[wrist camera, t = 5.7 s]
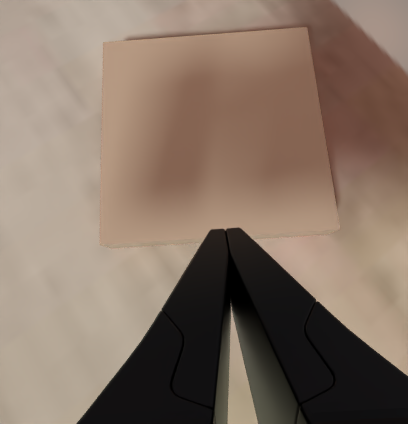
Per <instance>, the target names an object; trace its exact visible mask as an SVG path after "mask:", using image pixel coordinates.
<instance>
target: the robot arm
mask: <svg viewBox="0 0 408 424" xmlns="http://www.w3.org/2000/svg"><path fill="white" fill-rule="evenodd" d="M231 307H232V312H233V317H234V321H235V325H236V330H237V334H238V338H239V343H240V347H241V351H242V355H243V360H244V364H245V368H246V373H247V377H248V381H249V386H250V390H251V394H252V398H253V403H254V407H255V411H256V416H257V420H258V424H408V376H407V375H406V374H404V373H403V372H402V371H400V370H399V369H398V368H397V367H395V366H394V365H393V364H391V363H390V362H389V361H388V360H386V359H385V358H384V357H383V356H381V355H380V354H379V353H377V352H376V351H375V350H374V349H372V348H371V347H370V346H369V345H367V344H366V343H365V342H364V341H362V340H361V339H360V338H359V337H358V336H356V335H355V334H354V333H353V332H351V331H350V330H349V329H348V328H347V327H346V326H344V325H343V324H342V323H341V322H340V321H339V320H338V319H337V318H336V317H334V316H333V315H332V314H331V313H330V312H329V311H328V310H327V309H326V308H325V307H324V306H323V305H322V304H320V303H319V302H318V301H317V302H316V299H315V298H314V297H313V296H312V295H311V294H310V293H309V292H308V291H307V290H306V289H304V288H303V287H302V286H301V285H300V284H299V283H298V282H297V281H296V280H295V279H294V278H293V277H292V276H291V275H290V274H289V273H288V272H287V271H286V270H285V269H283V268H282V267H281V266H280V265H279V264H278V263H277V262H276V261H275V260H274V259H273V258H272V257H271V256H270V255H269V254H268V253H267V252H266V251H265V250H263V249H262V248H261V247H260V246H259V245H258V244H257V243H256V242H255V241H254V240H253V239H252V238H251V237H250V236H249V235H248V234H247V233H246V232H245V231H243V230H242V229H241V228H239V227H237V228H227V229H226V231H225V229H211V230H210V231H209V232H208V234H207V236H206V237H205V239H204V240H203V242H202V244H201V245H200V247H199V249H198V250H197V252H196V254H195V255H194V257H193V258H192V260H191V262H190V263H189V265H188V267H187V268H186V270H185V272H184V273H183V275H182V276H181V278H180V280H179V281H178V283H177V285H176V286H175V288H174V290H173V291H172V293H171V295H170V296H169V298H168V299H167V301H166V303H165V304H164V306H163V308H162V311H160V312H159V314H158V316H157V317H156V319H155V321H154V322H153V324H152V325H151V327H150V328H149V330H148V331H147V333H146V334H145V336H144V337H143V339H142V341H141V342H140V343H139V345H138V346H137V347H136V349H135V350H134V351H133V353H132V354H131V355H130V357H129V358H128V359H127V361H126V362H125V363H124V364H123V366H122V367H121V368H120V370H119V371H118V372H117V373H116V375H115V376H114V377H113V378H112V380H111V381H110V382H109V383H108V385H107V386H106V387H105V389H104V390H103V391H102V392H101V394H100V395H99V396H98V397H97V399H96V400H95V401H94V402H93V404H92V405H91V406H90V408H89V409H88V410H87V411H86V413H85V414H84V415H83V416H82V418H81V419H80V420H79V421H78V422H77V424H227V417H228V386H229V356H230V325H231Z"/></svg>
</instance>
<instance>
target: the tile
mask: <svg viewBox="0 0 408 424" xmlns="http://www.w3.org/2000/svg"><path fill="white" fill-rule="evenodd" d="M237 227H239V228H241V229H242V230H243V231H245V232H246V233H247V234H248V235H249V236H250V237H251V238H252V239H253V240H258V239H273V238H289V237H305V236H320V235H328V234H331V233H333V232H335V231H338V230H340V224H339V218H338V212H337V206H336V200H335V194H334V188H333V181H332V175H331V169H330V163H329V157H328V151H327V145H326V139H325V133H324V127H323V121H322V115H321V108H320V102H319V96H318V90H317V84H316V78H315V72H314V66H313V60H312V54H311V48H310V41H309V35H308V29H307V27H300V28H287V29H273V30H260V31H247V32H234V33H220V34H207V35H194V36H181V37H167V38H154V39H141V40H128V41H115V42H103V81H102V135H101V190H100V245H101V246H104V247H108V248H111V249H117V248H133V247H148V246H164V245H180V244H195V243H202V242H203V240H204V239H205V237H206V236H207V234H208V232H209V231H210V230H211V229H225V231H226V229H227V228H237Z"/></svg>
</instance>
